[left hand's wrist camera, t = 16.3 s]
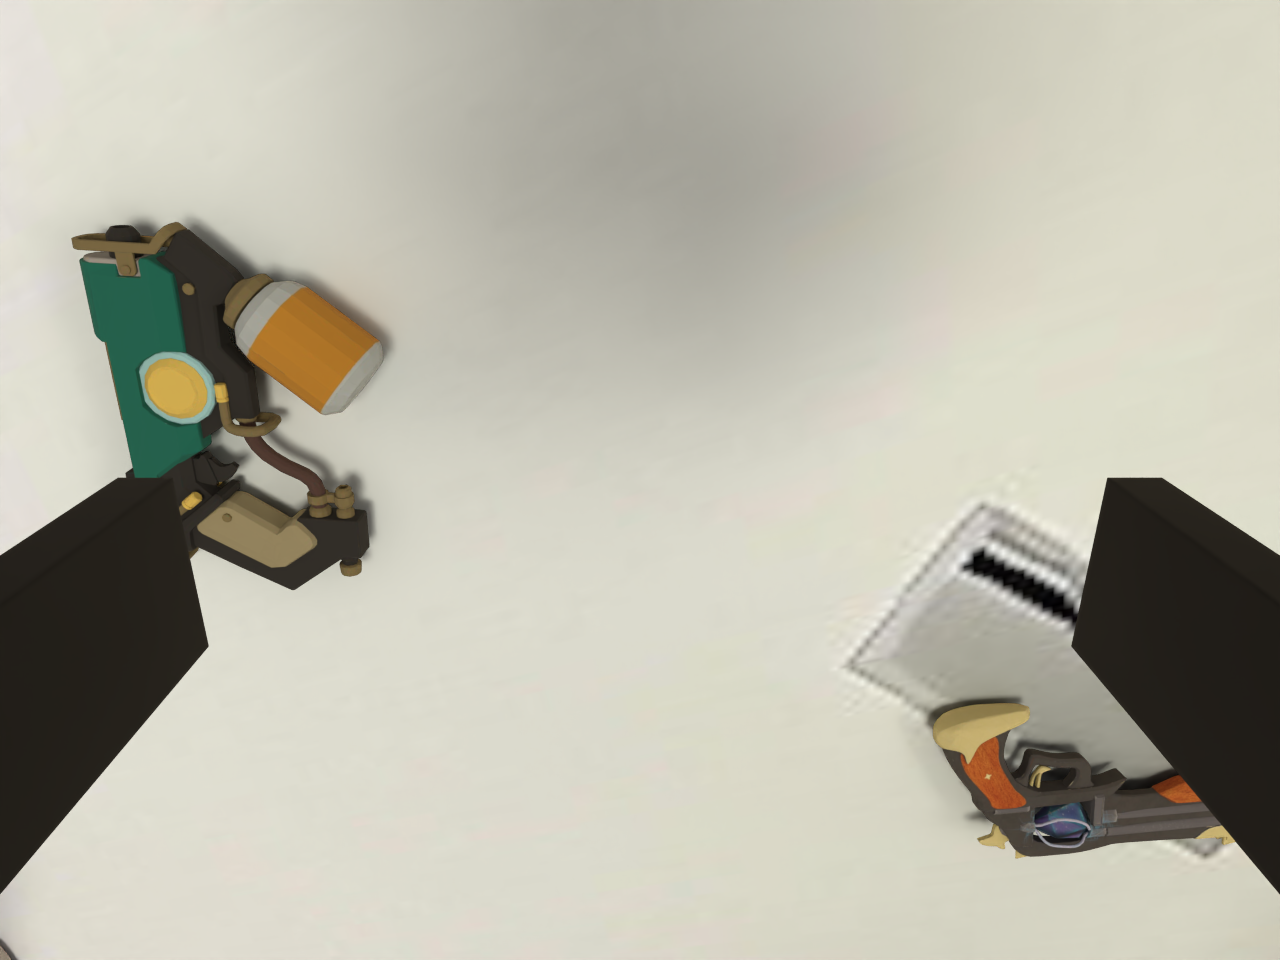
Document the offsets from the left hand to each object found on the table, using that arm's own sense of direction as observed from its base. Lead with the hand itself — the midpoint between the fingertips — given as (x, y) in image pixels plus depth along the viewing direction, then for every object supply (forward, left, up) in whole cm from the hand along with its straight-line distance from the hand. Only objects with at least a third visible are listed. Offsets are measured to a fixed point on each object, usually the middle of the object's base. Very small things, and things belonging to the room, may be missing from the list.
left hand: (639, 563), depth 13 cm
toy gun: (+12, +37, -30) cm, 49 cm away
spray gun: (+16, -13, -30) cm, 36 cm away
